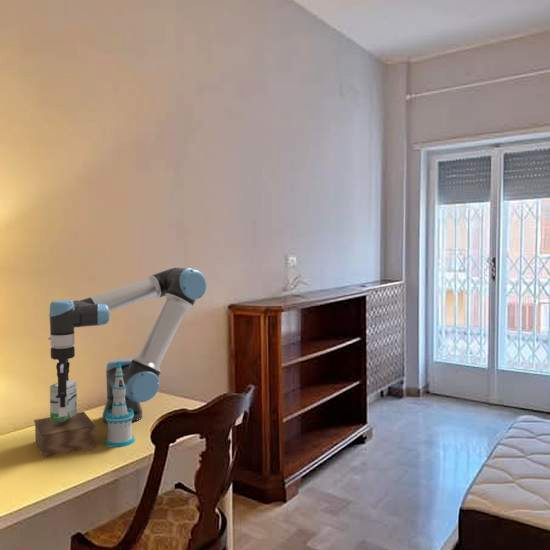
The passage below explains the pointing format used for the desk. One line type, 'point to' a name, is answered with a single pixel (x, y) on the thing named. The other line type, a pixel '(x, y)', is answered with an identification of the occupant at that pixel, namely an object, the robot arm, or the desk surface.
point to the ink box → (70, 401)
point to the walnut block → (64, 435)
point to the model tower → (119, 415)
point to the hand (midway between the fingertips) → (64, 411)
